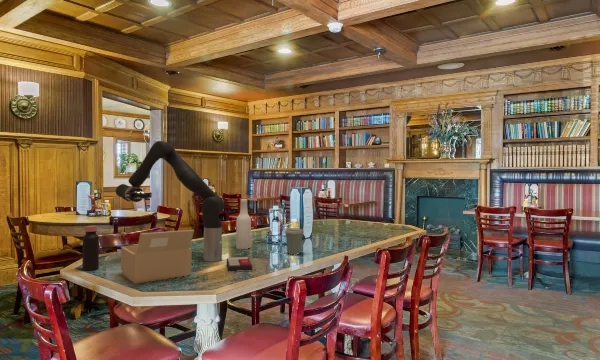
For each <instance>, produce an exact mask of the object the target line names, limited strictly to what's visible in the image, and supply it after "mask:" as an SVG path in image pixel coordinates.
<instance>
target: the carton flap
mask: <svg viewBox="0 0 600 360" xmlns="http://www.w3.org/2000/svg"><path fill="white" fill-rule="evenodd" d="M194 232H195V229H184V230H170V231H160V232H159V231H158V232H157V231H155V232H154V231H153V232H145V233H143V232H142V233H141V232H140V234H139V238H138V242H137V245H138V248H137V253H147V252H157V251H167V250H177V249H187V248H191V243H192V239H193V237H194V236H193V235H194Z"/></svg>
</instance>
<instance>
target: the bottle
mask: <svg viewBox="0 0 600 360" xmlns="http://www.w3.org/2000/svg"><path fill="white" fill-rule="evenodd" d="M84 232H85V234H84V235H83V237H82V259H81V260H82V271H84V272H85V271H86V272H90V271H96V270H99V269H100V268H99V267H100V265H99V264H100V236H99V235H98V234H97V232H98V226H97V225H87V226H86V225H85V226H84Z"/></svg>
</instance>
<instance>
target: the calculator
mask: <svg viewBox="0 0 600 360" xmlns="http://www.w3.org/2000/svg"><path fill="white" fill-rule="evenodd" d="M226 268H227V272H228V271H237V270H252V271H253V264H252V262H251V260H250V258H249V257H248V256H242V257H241V256H240V257H238V256H237V257H227V258H226Z"/></svg>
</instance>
